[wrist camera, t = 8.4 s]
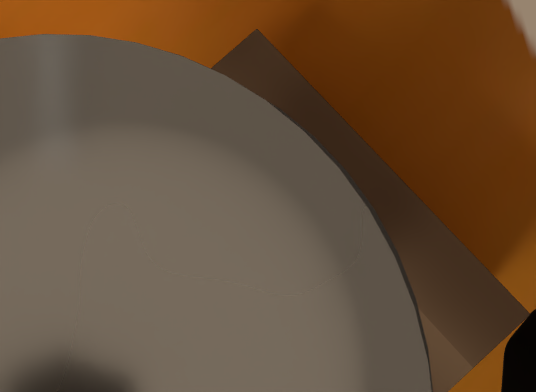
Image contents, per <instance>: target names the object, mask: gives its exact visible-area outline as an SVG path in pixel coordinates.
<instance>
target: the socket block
mask: <svg viewBox="0 0 536 392" xmlns="http://www.w3.org/2000/svg"><path fill="white" fill-rule="evenodd" d="M211 69H212V70H214V71H217V72H219V73H221V74H223V75H225V76H227V77H229V78H230V79H232V80H234V81H235V82H237V83H238V84H240V85H242V86H244V87H245V88H247V89H249V90H250V91H252V92H254V93H255V94H257V95H259V96H260V97H262V98H263V99H265V100H267V101H268V102H270V103H272V104H273V105H275V106H276V107H278V108H280V109H281V110H282V111H283V112H285V113H286V114H287V115H288V116H289V117H291V118H292V119H293V120H294V121H296V122H297V123H298V124H299V125H301V126H302V127H303V128H304V129H306V130H307V131H308V132H309V133H310V134H312V135H313V136H314V137H315V138H316V139H317V140H318V141H319V142H320V143H321V144H322V145H323V146H324V147H325V148H326V149H327V151H328V152H329V153H330V154H331V155H332V156H333V157H334V158H335V159H336V160H337V161H338V162H339V163H340V164H341V165H342V166H343V167H344V168H345V170H346V171H347V172H348V173H349V175H350V176H351V177H352V179H353V180H354V182H355V183H356V184H357V186H358V187H359V188H360V190H361V191H362V193H363V194H364V195H365V197H366V198H367V199H368V201H369V202H370V204H371V205H372V206H373V208H374V209H375V211H376V213H377V215H378V217H379V218H380V220H381V222H382V224H383V226H384V228H385V229H386V231H387V233H388V235H389V237H390V239H391V240H392V242H393V244H394V246H395V248H396V250H397V251H398V254H399V256H400V259H401V262H402V264H403V267H404V269H405V272H406V274H407V277H408V280H409V282H410V285H411V287H412V290H413V292H414V295H415V298H416V301H417V305H418V309H419V313H420V317H421V321H422V326H423V330H424V334H425V338H426V342H427V346H428V352H429V360H430V369H431V378H432V386H433V392H448V391H449V390H450V389H451V388H452V387H453V386H454V385H455V384H456V383H457V382H459V381H460V380H461V379H462V378H463V377H464V376H465V375H466V374H467V373H468V372H469V371H470V370H471V369H472V368H474V367H475V366H476V365H477V364H478V363H479V362H480V361H481V360H482V359H483V358H484V357H485V356H486V355H487V354H489V353H490V352H491V351H492V350H493V349H494V348H495V347H496V346H497V345H498V344H499V343H500V342H501V341H502V340H504V339H505V338H506V337H507V336H508V335H509V334H510V333H511V332H512V331H513V330H514V329H515V328H516V327H517V326H519V325H520V324H521V323H522V322H523V321H524V320H525V319H526V318H527V317H528V316H529V315H530V313H529V312H528V311H527V310H526V309H525V308H524V307H523V306H522V305H521V304H520V303H519V302H518V301H517V300H516V299H515V298H514V297H513V296H512V295H511V293H510V292H509V291H508V290H507V289H506V288H505V287H504V286H503V285H502V284H501V283H500V282H499V281H498V280H497V279H496V278H495V277H494V276H493V275H492V274H491V273H490V272H489V270H488V269H487V268H486V267H485V266H484V265H483V264H482V263H481V262H480V261H479V260H478V259H477V258H476V257H475V256H474V255H473V254H472V253H471V252H470V251H469V250H468V249H467V248H466V246H465V245H464V244H463V243H462V242H461V241H460V240H459V239H458V238H457V237H456V236H455V235H454V234H453V233H452V232H451V231H450V230H449V229H448V228H447V227H446V226H445V225H444V224H443V222H442V221H441V220H440V219H439V218H438V217H437V216H436V215H435V214H434V213H433V212H432V211H431V210H430V209H429V208H428V207H427V206H426V205H425V204H424V203H423V202H422V201H421V199H420V198H419V197H418V196H417V195H416V194H415V193H414V192H413V191H412V190H411V189H410V188H409V187H408V186H407V185H406V184H405V183H404V182H403V181H402V180H401V179H400V178H399V177H398V175H397V174H396V173H395V172H394V171H393V170H392V169H391V168H390V167H389V166H388V165H387V164H386V163H385V162H384V161H383V160H382V159H381V158H380V157H379V156H378V155H377V154H376V152H375V151H374V150H373V149H372V148H371V147H370V146H369V145H368V144H367V143H366V142H365V141H364V140H363V139H362V138H361V137H360V136H359V135H358V134H357V133H356V132H355V131H354V130H353V128H352V127H351V126H350V125H349V124H348V123H347V122H346V121H345V120H344V119H343V118H342V117H341V116H340V115H339V114H338V113H337V112H336V111H335V110H334V109H333V108H332V107H331V105H330V104H329V103H328V102H327V101H326V100H325V99H324V98H323V97H322V96H321V95H320V94H319V93H318V92H317V91H316V90H315V89H314V88H313V87H312V86H311V85H310V84H309V83H308V81H307V80H306V79H305V78H304V77H303V76H302V75H301V74H300V73H299V72H298V71H297V70H296V69H295V68H294V67H293V66H292V65H291V64H290V63H289V62H288V61H287V60H286V58H285V57H284V56H283V55H282V54H281V53H280V52H279V51H278V50H277V49H276V48H275V47H274V46H273V45H272V44H271V43H270V42H269V41H268V40H267V39H266V38H265V37H264V36H263V34H262V33H261V32H260V31H259V30H258V29H256V30H255V31H254V32H252V33H251V34H250V35H249V36H248V37H247V38H246V39H244V40H243V41H242V42H241V43H240V44H239V45H237V46H236V47H235V48H234V49H233V50H232V51H231V52H229V53H228V54H227V55H226V56H225V57H224V58H223V59H221V60H220V61H219V62H218V63H217V64H216V65H214V66H213V67H212V68H211Z"/></svg>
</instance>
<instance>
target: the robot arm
mask: <svg viewBox="0 0 536 392" xmlns="http://www.w3.org/2000/svg"><path fill="white" fill-rule="evenodd" d="M501 392H536V309H535V310H534V311H533V312H531V314H530V315H529V316H528V317H527V318H526V320H525V321H524V322H523V323H522V325H521V326H520V327H519V328H518V329H517V331H516V332H515V333H514V334H513V335H512V337H511V338H510V339H509V341H508V343H507V345H506V348H505V352H504V361H503V375H502V389H501Z"/></svg>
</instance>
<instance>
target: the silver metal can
mask: <svg viewBox="0 0 536 392" xmlns="http://www.w3.org/2000/svg"><path fill="white" fill-rule="evenodd" d="M0 392H433V386H432V378H431V369H430V360H429V352H428V346H427V342H426V338H425V334H424V330H423V326H422V321H421V317H420V313H419V309H418V305H417V301H416V298H415V295H414V292H413V290H412V287H411V285H410V282H409V280H408V277H407V274H406V272H405V269H404V267H403V264H402V262H401V259H400V256H399V254H398V251H397V250H396V248H395V246H394V244H393V242H392V240H391V239H390V237H389V235H388V233H387V231H386V229H385V228H384V226H383V224H382V222H381V220H380V218H379V217H378V215H377V213H376V211H375V209H374V208H373V206H372V205H371V204H370V202H369V201H368V199H367V198H366V197H365V195H364V194H363V193H362V191H361V190H360V188H359V187H358V186H357V184H356V183H355V182H354V180H353V179H352V177H351V176H350V175H349V173H348V172H347V171H346V170H345V168H344V167H343V166H342V165H341V164H340V163H339V162H338V161H337V160H336V159H335V158H334V157H333V156H332V155H331V154H330V153H329V152H328V151H327V149H326V148H325V147H324V146H323V145H322V144H321V143H320V142H319V141H318V140H317V139H316V138H315V137H314V136H313V135H312V134H310V133H309V132H308V131H307V130H306V129H304V128H303V127H302V126H301V125H299V124H298V123H297V122H296V121H294V120H293V119H292V118H291V117H289V116H288V115H287V114H286V113H285V112H283V111H282V110H281V109H280V108H278V107H276V106H275V105H273V104H272V103H270V102H268V101H267V100H265V99H263V98H262V97H260V96H259V95H257V94H255V93H254V92H252V91H250V90H249V89H247V88H245V87H244V86H242V85H240V84H238V83H237V82H235V81H234V80H232V79H230V78H229V77H227V76H225V75H223V74H221V73H219V72H217V71H214V70H212V69H210V68H208V67H205V66H203V65H201V64H199V63H196V62H194V61H192V60H190V59H187V58H185V57H183V56H180V55H177V54H173V53H170V52H166V51H163V50H160V49H156V48H153V47H149V46H146V45H143V44H139V43H135V42H129V41H123V40H116V39H110V38H103V37H97V36H91V35H54V34H41V35H31V36H21V37H12V38H2V39H0Z"/></svg>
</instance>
